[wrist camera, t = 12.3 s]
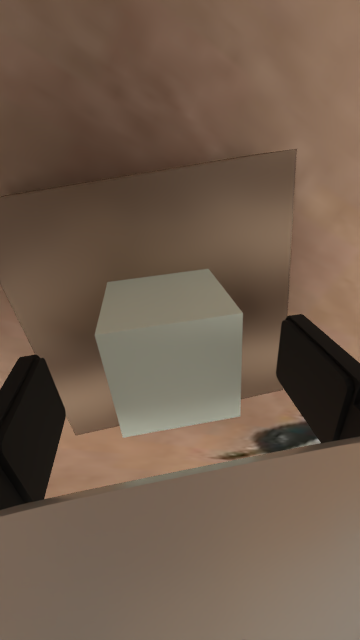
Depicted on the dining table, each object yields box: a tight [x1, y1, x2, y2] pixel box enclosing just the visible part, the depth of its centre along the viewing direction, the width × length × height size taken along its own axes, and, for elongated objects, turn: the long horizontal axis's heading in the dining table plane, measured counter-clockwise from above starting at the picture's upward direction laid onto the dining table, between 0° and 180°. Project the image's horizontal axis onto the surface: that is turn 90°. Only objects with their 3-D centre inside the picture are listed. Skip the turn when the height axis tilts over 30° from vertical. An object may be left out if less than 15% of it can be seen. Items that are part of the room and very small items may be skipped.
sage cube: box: [95, 269, 243, 438], centre depth 13 cm, size 5×5×5 cm
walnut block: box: [0, 149, 297, 435], centre depth 17 cm, size 14×14×5 cm
